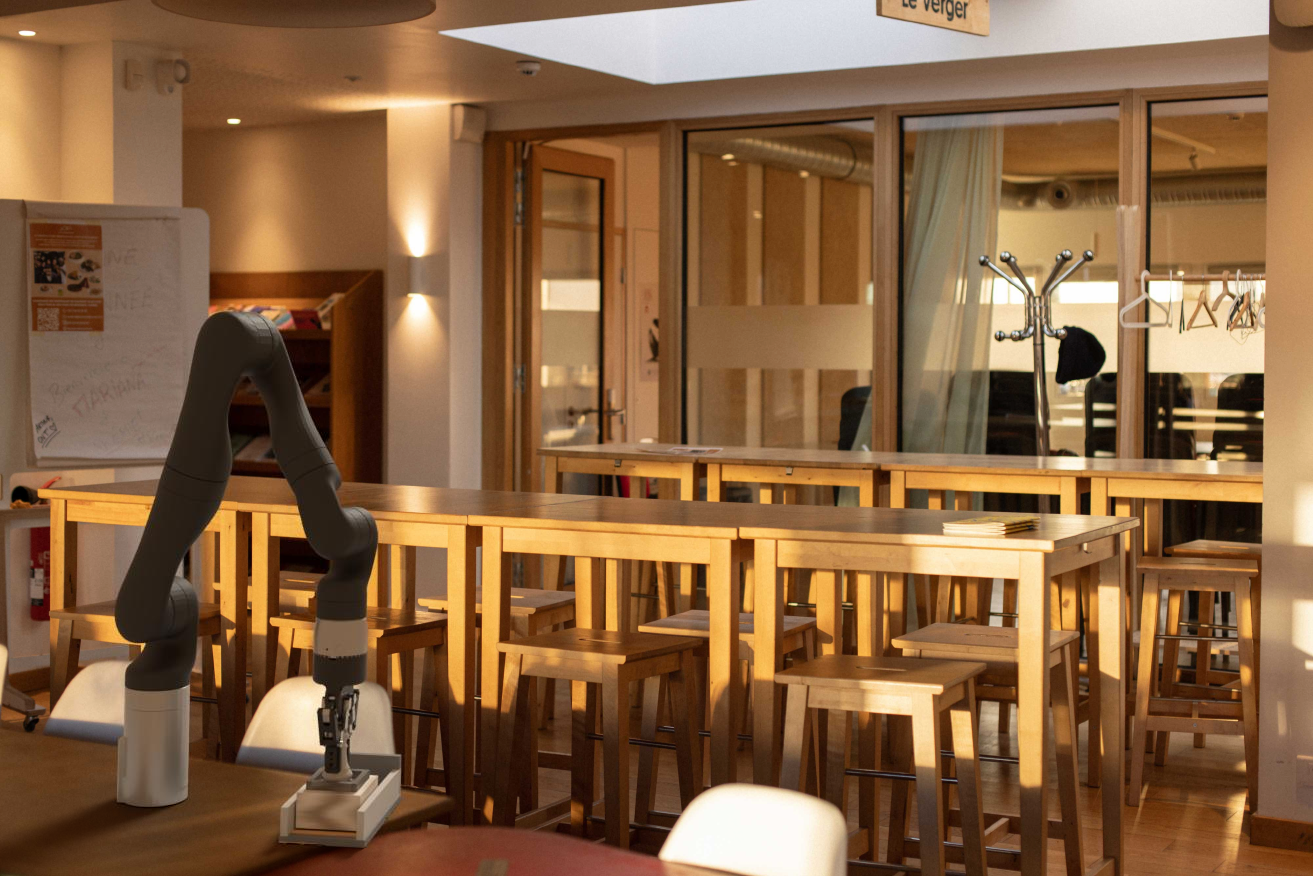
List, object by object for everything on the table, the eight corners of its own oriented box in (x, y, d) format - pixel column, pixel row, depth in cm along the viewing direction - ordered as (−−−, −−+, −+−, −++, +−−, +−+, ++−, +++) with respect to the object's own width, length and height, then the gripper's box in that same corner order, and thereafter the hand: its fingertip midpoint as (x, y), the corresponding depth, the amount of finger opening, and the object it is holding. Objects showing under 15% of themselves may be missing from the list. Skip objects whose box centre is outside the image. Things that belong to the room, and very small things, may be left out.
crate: (295, 827, 200) (296, 783, 199) (316, 806, 210) (317, 764, 209) (359, 831, 199) (360, 787, 199) (377, 809, 209) (378, 767, 209)
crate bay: (278, 843, 197) (279, 792, 197) (323, 796, 219) (324, 750, 219) (364, 847, 196) (366, 797, 196) (401, 800, 218) (402, 754, 218)
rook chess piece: (344, 790, 201) (346, 734, 201) (315, 787, 202) (316, 731, 202) (358, 782, 205) (359, 726, 205) (329, 779, 206) (330, 724, 206)
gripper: (328, 638, 210) (325, 754, 211) (299, 657, 196) (296, 781, 197) (378, 640, 210) (375, 756, 210) (353, 659, 195) (350, 784, 196)
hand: (337, 767), depth 203 cm, fingers open, 3 cm apart
